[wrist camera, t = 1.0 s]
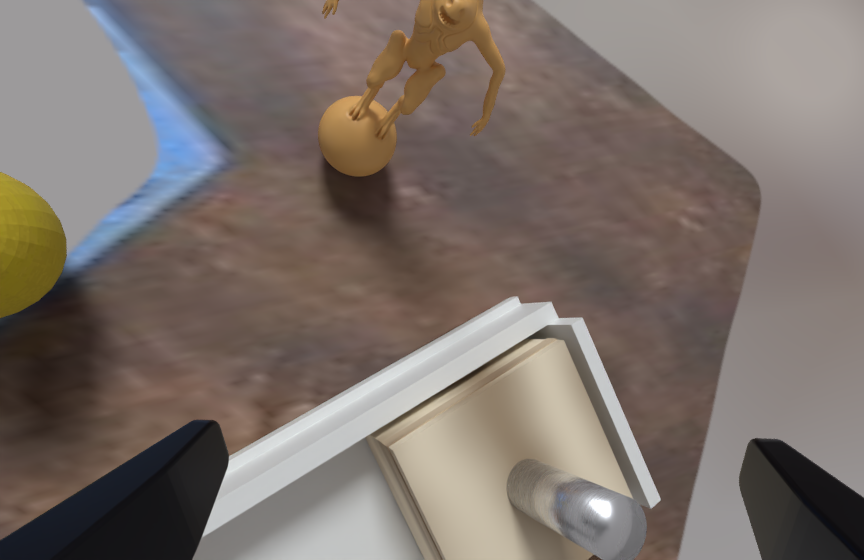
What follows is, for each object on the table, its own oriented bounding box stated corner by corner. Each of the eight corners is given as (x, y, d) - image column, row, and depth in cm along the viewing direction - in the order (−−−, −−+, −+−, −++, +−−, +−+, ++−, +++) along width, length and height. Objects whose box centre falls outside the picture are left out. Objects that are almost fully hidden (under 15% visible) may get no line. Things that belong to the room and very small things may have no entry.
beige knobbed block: (441, 596, 28) (576, 751, 18) (359, 428, 27) (452, 490, 17) (577, 486, 32) (751, 561, 21) (510, 336, 31) (660, 342, 20)
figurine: (260, 129, 27) (298, -8, 16) (322, 45, 29) (394, -131, 18) (392, 221, 29) (503, 158, 18) (441, 139, 31) (570, 36, 20)
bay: (254, 776, 24) (267, 902, 19) (113, 521, 23) (85, 580, 18) (597, 492, 33) (671, 524, 28) (510, 297, 32) (570, 291, 27)
